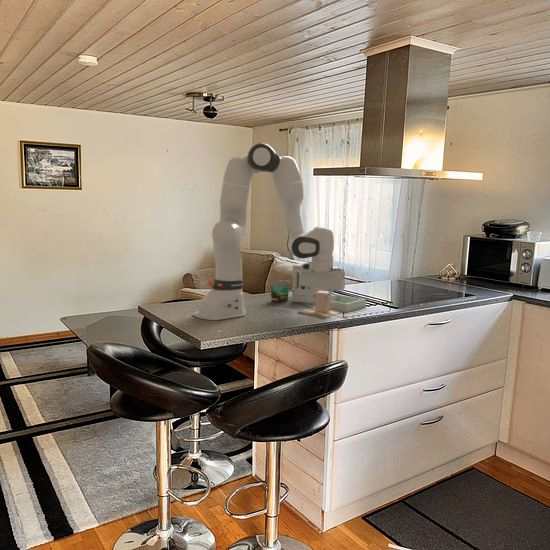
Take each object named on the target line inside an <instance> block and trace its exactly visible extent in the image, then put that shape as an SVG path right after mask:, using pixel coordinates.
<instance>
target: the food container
mask: <svg viewBox="0 0 550 550" xmlns="http://www.w3.org/2000/svg"><path fill="white" fill-rule="evenodd" d="M291 283H292V281H291V279H290V278H288V277H284V279H281V280H280V279H279V280H270V282H269V286H270V296H271V297H270V299H271V300H270V301H271V302H272V301H273V302H274V303H285V302H288V300H289V292H290V285H291ZM273 302H272V303H273Z"/></svg>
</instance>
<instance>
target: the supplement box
mask: <svg viewBox="0 0 550 550" xmlns="http://www.w3.org/2000/svg"><path fill="white" fill-rule="evenodd" d="M305 263H307V262H305V261H303V262H299V263H296V264H292V274H291V275H292V277H291V278H292V281H291V283H292V285H291V302H292V303H297V302H298V303H299V302H301V303H309V304H315V298H312V293H311V291H310V287H307V286H301V285H300V284H299V276H300V272H301V270H303V269H301V265H302V264H305ZM314 291H315V293H316V292H318V291H328V289H322V288H315V289H314Z"/></svg>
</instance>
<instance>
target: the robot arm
mask: <svg viewBox="0 0 550 550" xmlns="http://www.w3.org/2000/svg"><path fill="white" fill-rule="evenodd" d="M265 172H267V173H269V174H270V175H271V176H272V177H271V178H272V179H273V184H274V188H275V192H276V195H277V199H278V202H279V203H280V205H281V208H282V210H283V213H284V217H285V222H286V226H287V232H288V236H287V240H286V241H287V242H286V249H287V251H288V253H290V254H291V256H294V257H295V258H296V257H297V258H298V259H309V258H311V261H308V262H306V263H305V264H302V265H301V269H303V270H301V272H300V276H299V284H300V285H301V286H307V287H310V291H311V293H312V298H315V296H316V293H315V291H314V289H315V288H322V289H327V291H328V292H329V294H328V295H326V300H330V299H331V296H332V294H333V293H334V291H339V292H341V291H344V290H345V287H346V280H345V278H346V277H345V275H346V272H345V270H344V269H342V267H334V256H333V252H334V248H335V247H334V245H335V244H334V243H335V239H334V237H335V236H334V232H333V231H332V230H331V229H330V228H326V227H322V226H316V227H314V228H313V229H312V230H310V231H307V232H304V229H303V224H302V219H301V211H300V210H301V205H302V202H303V200H304V185H303V181H302V176H301V173H300V170H299V167H298V165H297V162H296V159H294V158H293V157H292V156H286V155H285V156H284V155H283V156H280V155H279V154H278V152H277V151H276V150H275V149H274V148H273V147H271V145H269V144H268V143H266V142H265V143H263V142H258V143H256V144H254V145H252V147H251V148H250V149H249V150H248V153H247V155H246V156H244V157H242V156H235V157H232V158H230V159H229V160H228V162H227V165H226V168H225V172H224V175H223V180H222V186H221V193H220V201H219V205H220V208H219V209H220V212H219V214H220V215H219V221H218V222H216V224H214V225H213V229H212V231H211V237H212V243H213V244H212V246H213V250H214V252H213V253H214V260H215V262H214V263H215V267H214V268H215V273H214V275H215V278H214V280H213V281H211V280H208V281H207V283H206V284H207V286H208V287H210V286H211V289H210V290H209V291H208V292H207V293H206V294H205V295H204V296H203V298H201V300H199V306H198V310H197V311H194V312H193V314H192V315H193V316H194V317H195V318H198V319H203V320H206V321H207V320H208V321H221V320H225V319H232V318H238V317H246V312H247V311H246V307H245V302H244V294H243V289H244V279H243V258H242V250H241V241H242V240H243V239H244V238H245V235H246V234H245V233H246V225H247V208H248V201H249V195H250V189H251V182H252V178H253V175H254V174H255V173H265Z"/></svg>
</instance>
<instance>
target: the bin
mask: <svg viewBox="0 0 550 550" xmlns="http://www.w3.org/2000/svg"><path fill="white" fill-rule="evenodd" d="M366 304H367V303H366V298H362V297H361V298H360V297H355V296H349V295H344V294H337V293H336V294H333V295H331V302H330V309H333V310H338V311H344V312H343V313H349V312H352V311H355V310H359V309H362V308H365V307H366Z"/></svg>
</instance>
